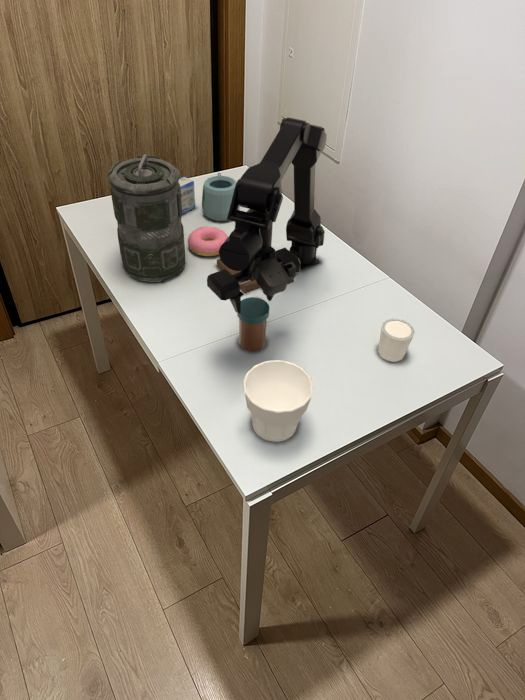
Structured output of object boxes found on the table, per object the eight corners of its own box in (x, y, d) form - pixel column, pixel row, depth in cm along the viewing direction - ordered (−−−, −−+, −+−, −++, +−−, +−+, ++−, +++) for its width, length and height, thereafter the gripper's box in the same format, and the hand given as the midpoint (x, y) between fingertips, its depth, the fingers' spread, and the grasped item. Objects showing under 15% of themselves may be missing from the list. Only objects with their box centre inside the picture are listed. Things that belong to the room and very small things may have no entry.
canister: (128, 247, 141) (112, 143, 122) (188, 249, 142) (182, 145, 123) (117, 283, 130) (98, 174, 111) (182, 285, 131) (174, 177, 111)
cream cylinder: (400, 368, 113) (407, 344, 108) (370, 355, 116) (376, 331, 111) (411, 349, 118) (419, 326, 113) (382, 337, 120) (389, 314, 115)
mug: (201, 198, 162) (200, 166, 155) (237, 197, 163) (237, 166, 156) (202, 224, 151) (201, 191, 144) (241, 223, 153) (241, 191, 146)
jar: (255, 330, 120) (256, 296, 113) (270, 345, 117) (272, 311, 110) (233, 339, 117) (234, 305, 111) (248, 355, 114) (249, 321, 107)
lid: (257, 300, 115) (257, 293, 114) (275, 317, 111) (276, 310, 110) (231, 310, 112) (231, 303, 111) (248, 328, 108) (249, 321, 107)
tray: (265, 249, 144) (265, 242, 142) (294, 273, 136) (295, 267, 135) (216, 266, 137) (216, 259, 136) (245, 293, 130) (245, 286, 128)
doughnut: (219, 233, 148) (219, 219, 145) (235, 254, 141) (235, 240, 138) (182, 241, 145) (181, 227, 142) (196, 262, 138) (196, 249, 135)
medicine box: (176, 218, 153) (174, 190, 147) (165, 212, 155) (163, 184, 149) (195, 208, 158) (194, 180, 152) (185, 202, 160) (183, 175, 154)
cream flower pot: (243, 397, 106) (244, 357, 98) (306, 400, 106) (312, 361, 98) (239, 449, 97) (240, 410, 89) (308, 452, 97) (315, 414, 89)
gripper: (237, 279, 91) (236, 345, 101) (322, 247, 99) (313, 312, 109) (204, 248, 97) (206, 313, 108) (286, 220, 105) (281, 284, 116)
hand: (253, 306), depth 110 cm, fingers open, 7 cm apart
